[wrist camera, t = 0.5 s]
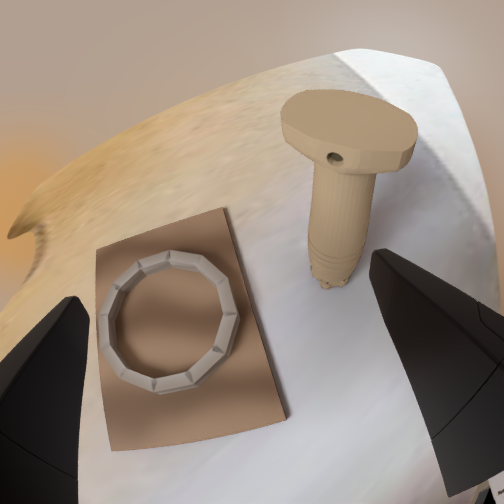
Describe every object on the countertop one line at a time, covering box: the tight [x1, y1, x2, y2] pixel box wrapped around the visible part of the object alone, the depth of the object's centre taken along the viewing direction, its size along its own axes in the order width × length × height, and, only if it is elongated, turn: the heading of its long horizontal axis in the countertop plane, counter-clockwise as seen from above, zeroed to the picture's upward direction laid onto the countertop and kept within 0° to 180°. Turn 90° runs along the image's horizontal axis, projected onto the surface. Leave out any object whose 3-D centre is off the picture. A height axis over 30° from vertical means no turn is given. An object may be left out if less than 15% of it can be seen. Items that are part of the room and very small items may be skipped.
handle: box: [281, 90, 418, 289], centre depth 19 cm, size 5×6×15 cm
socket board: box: [96, 207, 286, 451], centre depth 24 cm, size 20×14×2 cm
